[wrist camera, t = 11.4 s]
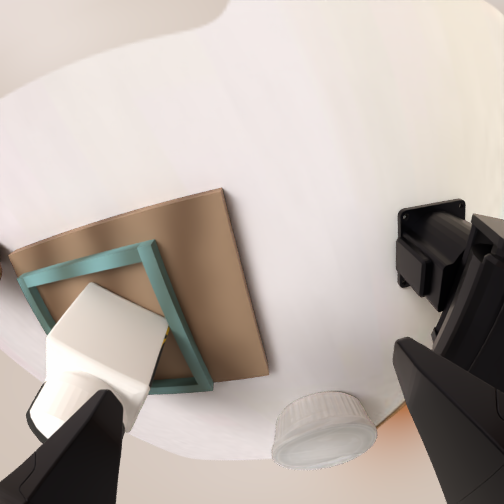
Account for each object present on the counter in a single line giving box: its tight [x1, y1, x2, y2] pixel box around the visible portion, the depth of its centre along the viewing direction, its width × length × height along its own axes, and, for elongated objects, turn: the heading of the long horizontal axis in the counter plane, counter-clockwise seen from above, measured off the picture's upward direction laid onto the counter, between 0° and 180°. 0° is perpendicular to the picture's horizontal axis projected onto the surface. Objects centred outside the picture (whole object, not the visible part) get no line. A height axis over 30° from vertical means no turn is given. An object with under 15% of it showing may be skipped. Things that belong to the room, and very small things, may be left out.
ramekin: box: [272, 391, 377, 470], centre depth 27 cm, size 11×11×5 cm
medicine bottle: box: [26, 282, 170, 443], centre depth 16 cm, size 7×7×12 cm
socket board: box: [8, 188, 269, 395], centre depth 22 cm, size 20×16×2 cm
